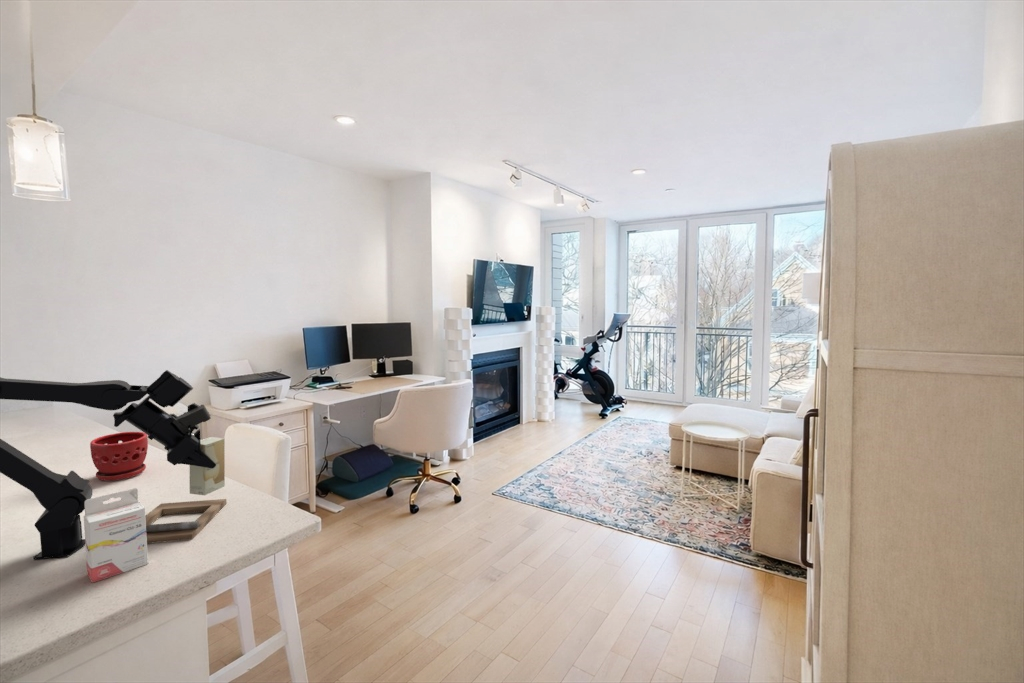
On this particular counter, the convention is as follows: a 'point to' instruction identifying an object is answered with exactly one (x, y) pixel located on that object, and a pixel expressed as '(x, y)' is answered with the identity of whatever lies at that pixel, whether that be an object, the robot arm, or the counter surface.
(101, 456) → the plant pot
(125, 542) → the ink cartridge box
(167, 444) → the robot arm
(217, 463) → the skincare box
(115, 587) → the counter surface
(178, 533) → the shelf frame
